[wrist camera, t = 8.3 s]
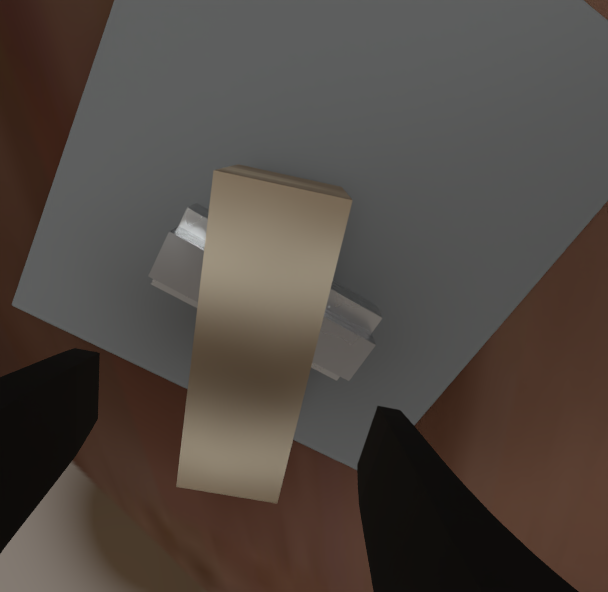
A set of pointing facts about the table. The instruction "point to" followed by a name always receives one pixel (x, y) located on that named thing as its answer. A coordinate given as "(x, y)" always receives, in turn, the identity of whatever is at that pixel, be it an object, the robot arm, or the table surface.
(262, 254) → the beam
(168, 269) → the fulcrum
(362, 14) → the mat
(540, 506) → the table surface
